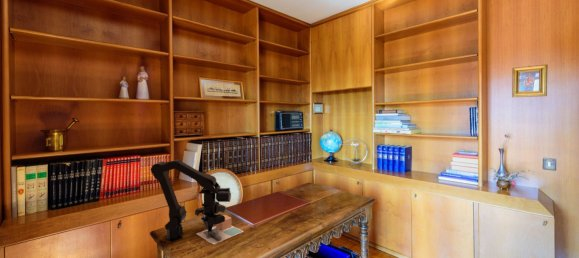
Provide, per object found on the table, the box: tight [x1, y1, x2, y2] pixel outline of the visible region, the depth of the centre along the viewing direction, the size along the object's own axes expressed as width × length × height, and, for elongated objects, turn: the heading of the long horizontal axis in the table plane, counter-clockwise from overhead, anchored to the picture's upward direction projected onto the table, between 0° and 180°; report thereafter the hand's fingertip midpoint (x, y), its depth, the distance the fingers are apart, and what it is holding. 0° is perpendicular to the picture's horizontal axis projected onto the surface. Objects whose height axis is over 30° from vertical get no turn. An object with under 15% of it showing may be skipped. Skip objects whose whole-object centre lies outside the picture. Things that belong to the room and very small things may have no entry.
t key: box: [206, 228, 221, 240], centre depth 127 cm, size 8×6×3 cm
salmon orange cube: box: [215, 214, 233, 230], centre depth 140 cm, size 6×6×5 cm
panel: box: [195, 225, 244, 245], centre depth 134 cm, size 18×16×4 cm
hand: (209, 231), depth 131 cm, fingers closed
